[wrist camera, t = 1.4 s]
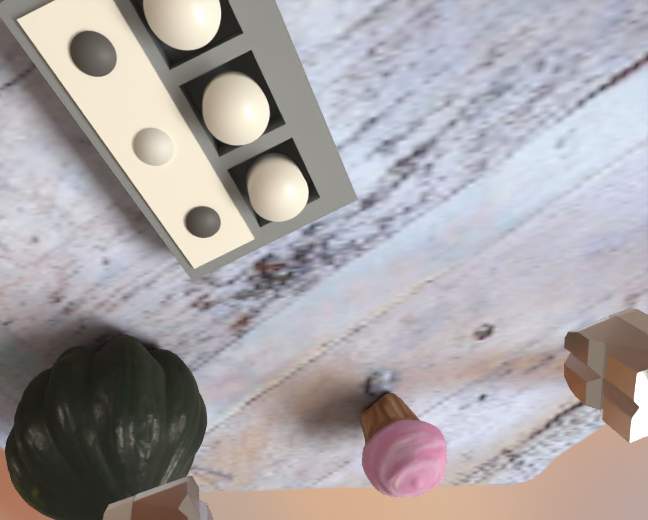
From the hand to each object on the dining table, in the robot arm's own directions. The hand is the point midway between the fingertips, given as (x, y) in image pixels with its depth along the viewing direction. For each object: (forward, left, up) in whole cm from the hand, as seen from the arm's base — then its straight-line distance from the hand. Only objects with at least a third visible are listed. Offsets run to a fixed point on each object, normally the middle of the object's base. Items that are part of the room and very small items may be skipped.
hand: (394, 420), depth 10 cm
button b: (+1, -2, -26) cm, 26 cm away
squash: (+22, +16, -30) cm, 40 cm away
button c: (+1, +4, -26) cm, 27 cm away
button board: (+3, -2, -29) cm, 29 cm away
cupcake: (+2, +36, -30) cm, 47 cm away
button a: (+1, -8, -26) cm, 27 cm away
